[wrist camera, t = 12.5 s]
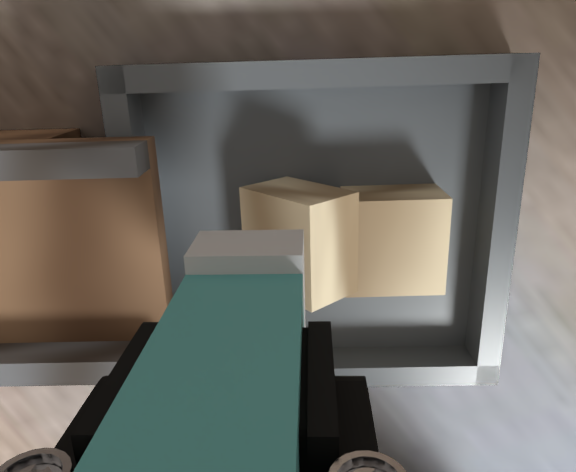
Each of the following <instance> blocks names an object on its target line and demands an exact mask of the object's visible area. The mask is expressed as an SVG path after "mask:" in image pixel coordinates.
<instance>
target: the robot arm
mask: <svg viewBox="0 0 576 472" xmlns="http://www.w3.org/2000/svg"><path fill="white" fill-rule="evenodd" d="M157 324H158V322H143V323H142V324H141V326H140V327H139V329H138V330H137V332H136V333H135V335H134V336H133V338H132V340H131V341H130V343H129V344H128V346H127V347H126V349H125V350H124V352H123V354H122V355H121V357H120V358H119V360H118V361H117V363H116V364H115V366H114V368H113V369H112V371H111V372H110V374H109V375H108V376H103V377H102V378H101V379H100V380H99V381H98V383H97V384H96V386H95V387H94V389H93V390H92V392H91V393H90V395H89V396H88V398H87V399H86V401H85V402H84V404H83V405H82V407H81V408H80V410H79V411H78V413H77V414H76V416H75V417H74V419H73V421H72V422H71V424H70V425H69V427H68V428H67V430H66V431H65V433H64V434H63V436H62V437H61V439H60V440H59V442H58V443H57V445H56V446H55V448H40V449H34V450H30V451H27V452H25V453H22V454H19V455H17V456H15V457H13V458H12V459H10V460H8V461H6V462H5V463H4V464H3V465H1V466H0V472H73V471H74V469H75V468H76V466H77V464H78V462H79V461H80V459H81V457H82V455H83V454H84V452H85V450H86V448H87V447H88V445H89V443H90V441H91V440H92V438H93V436H94V434H95V433H96V431H97V429H98V427H99V426H100V424H101V422H102V420H103V419H104V417H105V415H106V413H107V412H108V410H109V408H110V406H111V405H112V403H113V401H114V399H115V398H116V396H117V394H118V392H119V391H120V389H121V387H122V385H123V383H124V382H125V380H126V378H127V376H128V375H129V373H130V371H131V369H132V368H133V366H134V364H135V362H136V361H137V359H138V357H139V355H140V354H141V352H142V350H143V348H144V347H145V345H146V343H147V341H148V340H149V338H150V336H151V334H152V333H153V331H154V329H155V327H156V326H157ZM299 469H300V472H406V471H405V469H404V468H403V466H402V465H401V464H400V463H398V462H397V461H396V460H394V459H393V458H392V457H389V456H387V455H385V454H382V453H379V452H378V446H377V440H376V434H375V428H374V422H373V417H372V411H371V405H370V399H369V393H368V388H367V382H366V377H365V376H335V373H334V359H333V346H332V332H331V321H308V327H302V350H301V380H300V411H299Z"/></svg>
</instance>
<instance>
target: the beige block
mask: <svg viewBox="0 0 576 472" xmlns="http://www.w3.org/2000/svg"><path fill="white" fill-rule="evenodd" d="M340 188H343V189H348V190H352V191H357V192H359V239H358V291H357V292H355V293H353V294H351V295H349V296H347V297H346V298H350V297H390V296H429V295H445V293H446V279H447V266H448V253H449V240H450V227H451V214H452V201H453V199H452V198H451V197H450V196H449V195H448V194H447V193H445V192H444V191H443V190H442V189H441V188H440V187H439V186H438V185H436V184H435V183H432V184H398V185H365V186H340Z"/></svg>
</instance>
